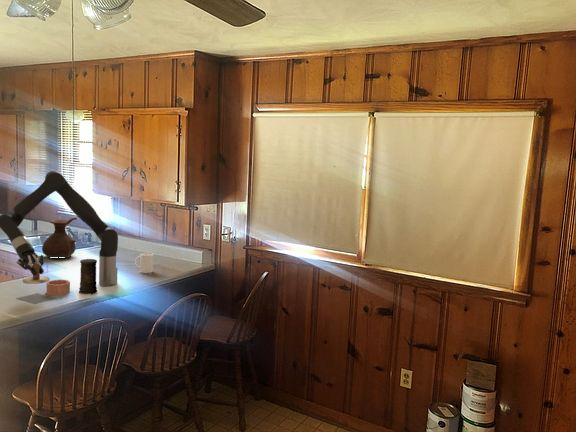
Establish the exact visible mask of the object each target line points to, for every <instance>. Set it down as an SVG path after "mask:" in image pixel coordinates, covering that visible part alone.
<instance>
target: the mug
mask: <svg viewBox="0 0 576 432" xmlns="http://www.w3.org/2000/svg"><path fill="white" fill-rule="evenodd" d="M139 258H140V259H139ZM137 259H139V264H140V265H138V264H137ZM134 263H135V266H136V267H137V268H139V273H140V272H152V271H153V272H154V253H150V252H149V253H148V252H143V253H140V255H138V256H137V257H136V258H135V259H134Z"/></svg>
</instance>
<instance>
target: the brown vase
mask: <svg viewBox="0 0 576 432" xmlns="http://www.w3.org/2000/svg"><path fill="white" fill-rule="evenodd" d="M78 219H79V217H78V216H77V215H75V216H73V217H71V218H70V219H65V218H64V219H62V218H61V219H52V220H50V221H49V223H50V224H53V226H54V232H53V233H51V235H49V236H48V237H47V238H46V239H45V240H44V242H43V244H42V247H41V250H42V254H43V255H45V256H46V257H47V258H48V257H58V258H59V257H67V258H69V257H70V256H72V255H73V254H74V253H75V251H76V241H77V238H72V237H71V236H70V235H69V234H67V232H66V227H67V226H68V225H70V224H71V223H72V222H73V221H74V220H78ZM68 256H69V257H68Z"/></svg>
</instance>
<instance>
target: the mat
mask: <svg viewBox="0 0 576 432" xmlns="http://www.w3.org/2000/svg"><path fill="white" fill-rule="evenodd" d="M56 299H57V297H52V296H51V295H45V294H42V293H38V292H37V293H33V294H29V295H25V296H21V297H16V298H15V300H19V301H23V302H24V303H25V302H26V303H29V304H33V305H38V304H41V303H45V302H49V301H53V300H56Z"/></svg>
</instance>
